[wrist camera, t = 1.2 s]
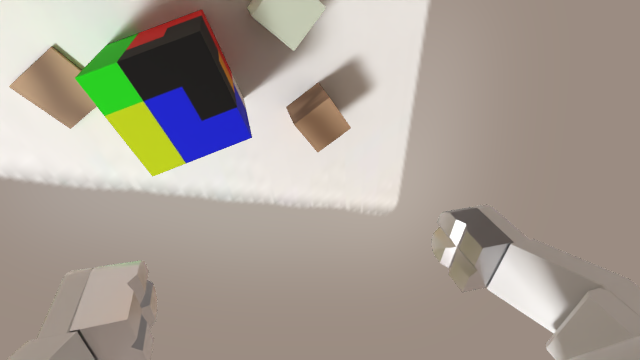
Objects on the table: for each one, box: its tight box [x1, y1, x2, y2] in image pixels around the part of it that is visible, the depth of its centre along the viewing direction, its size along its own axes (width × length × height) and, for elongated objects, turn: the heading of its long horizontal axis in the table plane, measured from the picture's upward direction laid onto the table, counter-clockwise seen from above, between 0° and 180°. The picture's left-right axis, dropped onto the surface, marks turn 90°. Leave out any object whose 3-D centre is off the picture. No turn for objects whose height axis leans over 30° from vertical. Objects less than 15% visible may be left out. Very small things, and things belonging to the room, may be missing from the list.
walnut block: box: [286, 83, 351, 152], centre depth 40 cm, size 5×5×5 cm
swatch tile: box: [9, 46, 96, 129], centre depth 33 cm, size 6×6×1 cm
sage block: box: [247, 0, 326, 51], centre depth 32 cm, size 5×5×5 cm
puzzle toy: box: [75, 10, 252, 176], centre depth 32 cm, size 10×10×10 cm
